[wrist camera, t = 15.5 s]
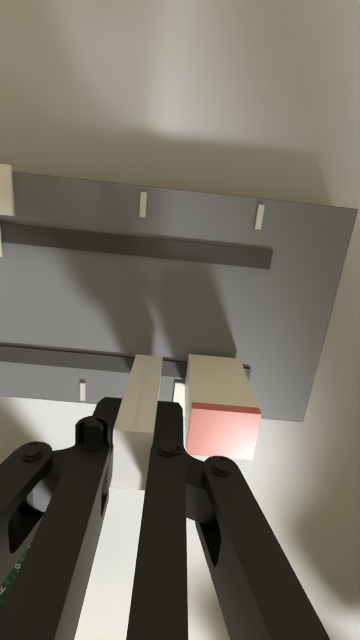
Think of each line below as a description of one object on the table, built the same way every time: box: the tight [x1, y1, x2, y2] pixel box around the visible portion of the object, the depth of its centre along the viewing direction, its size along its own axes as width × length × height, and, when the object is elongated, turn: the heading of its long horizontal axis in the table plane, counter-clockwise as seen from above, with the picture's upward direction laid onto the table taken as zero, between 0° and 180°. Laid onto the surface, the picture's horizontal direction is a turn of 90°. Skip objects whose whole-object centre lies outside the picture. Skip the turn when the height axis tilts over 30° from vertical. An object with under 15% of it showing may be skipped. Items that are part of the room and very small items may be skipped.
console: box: [0, 164, 358, 422], centre depth 20 cm, size 28×14×3 cm, turn 84°
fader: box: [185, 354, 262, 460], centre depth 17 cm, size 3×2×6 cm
